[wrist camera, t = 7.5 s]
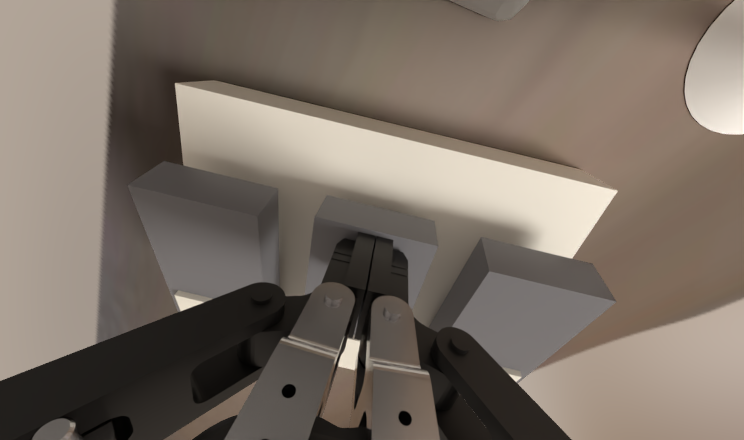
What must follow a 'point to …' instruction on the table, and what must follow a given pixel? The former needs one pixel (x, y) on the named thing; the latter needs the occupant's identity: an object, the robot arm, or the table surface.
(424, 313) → the switch panel
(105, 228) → the table surface
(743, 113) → the champagne flute
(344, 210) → the rocker middle
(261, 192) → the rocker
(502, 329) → the block
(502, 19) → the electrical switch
